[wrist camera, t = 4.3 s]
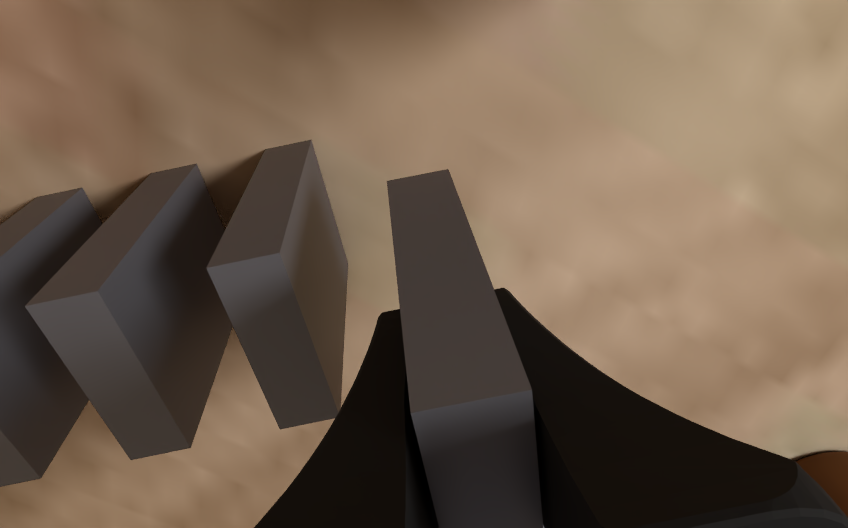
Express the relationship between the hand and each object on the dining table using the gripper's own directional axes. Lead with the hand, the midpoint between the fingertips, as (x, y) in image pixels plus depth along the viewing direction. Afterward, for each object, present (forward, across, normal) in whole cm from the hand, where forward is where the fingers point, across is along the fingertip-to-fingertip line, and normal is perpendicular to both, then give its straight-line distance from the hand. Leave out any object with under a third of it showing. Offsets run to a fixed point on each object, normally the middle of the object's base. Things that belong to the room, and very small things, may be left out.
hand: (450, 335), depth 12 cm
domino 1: (+9, +12, 0) cm, 15 cm away
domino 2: (+9, +8, 0) cm, 12 cm away
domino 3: (+9, +4, 0) cm, 10 cm away
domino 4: (+3, 0, 0) cm, 3 cm away
